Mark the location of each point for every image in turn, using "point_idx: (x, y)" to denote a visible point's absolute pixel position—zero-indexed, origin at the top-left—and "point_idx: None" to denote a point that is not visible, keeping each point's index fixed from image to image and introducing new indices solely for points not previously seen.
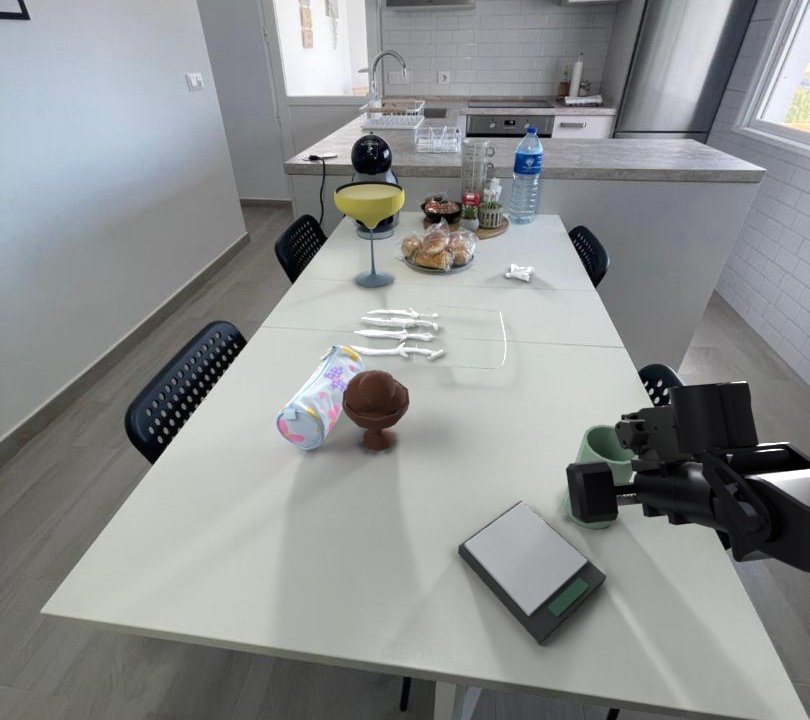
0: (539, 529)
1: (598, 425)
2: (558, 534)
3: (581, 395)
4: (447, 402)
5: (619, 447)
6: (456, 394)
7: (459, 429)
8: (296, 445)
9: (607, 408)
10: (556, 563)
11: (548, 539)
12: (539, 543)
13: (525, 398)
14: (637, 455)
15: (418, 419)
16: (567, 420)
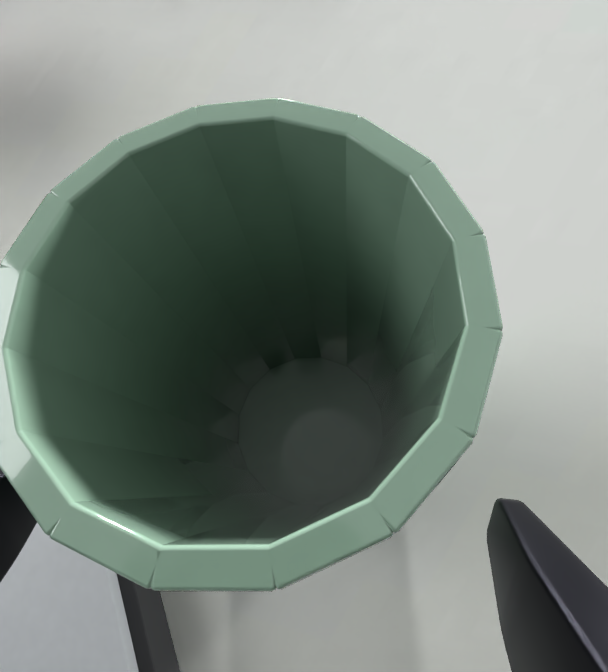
0: None
1: (250, 103)
2: None
3: (522, 27)
4: (118, 25)
5: (403, 291)
6: (155, 3)
7: (99, 107)
8: None
9: (587, 79)
10: (17, 661)
11: (54, 553)
12: (17, 560)
13: (338, 27)
14: (382, 503)
15: (18, 69)
16: (426, 109)
